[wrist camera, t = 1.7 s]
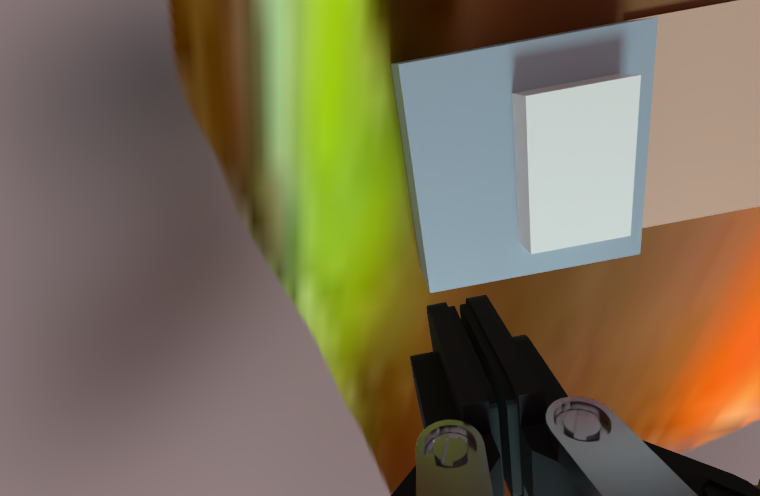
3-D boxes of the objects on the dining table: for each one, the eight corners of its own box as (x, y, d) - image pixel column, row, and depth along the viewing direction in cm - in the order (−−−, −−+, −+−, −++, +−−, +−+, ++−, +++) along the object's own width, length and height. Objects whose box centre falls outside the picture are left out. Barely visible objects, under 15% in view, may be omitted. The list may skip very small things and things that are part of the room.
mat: (623, 20, 27) (627, 20, 27) (831, -18, 27) (837, -19, 27) (613, 230, 33) (616, 232, 32) (785, 199, 33) (790, 200, 32)
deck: (390, 63, 27) (398, 64, 23) (615, 22, 27) (657, 16, 24) (420, 266, 33) (430, 292, 29) (606, 232, 33) (640, 253, 29)
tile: (512, 93, 24) (525, 95, 23) (618, 73, 24) (640, 74, 23) (518, 241, 28) (530, 254, 26) (611, 224, 28) (630, 235, 26)
